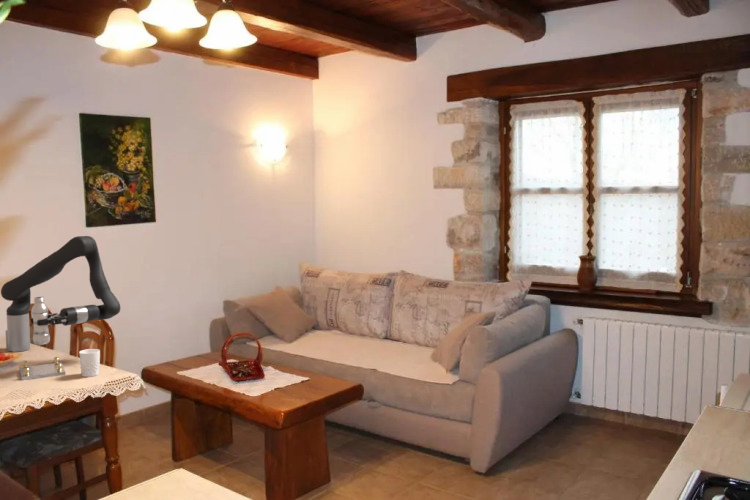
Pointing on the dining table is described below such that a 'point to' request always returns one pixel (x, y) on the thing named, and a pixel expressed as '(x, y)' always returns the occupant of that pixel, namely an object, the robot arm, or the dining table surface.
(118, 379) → the dining table surface
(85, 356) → the white cup
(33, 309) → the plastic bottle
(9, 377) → the dining table surface
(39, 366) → the plate
